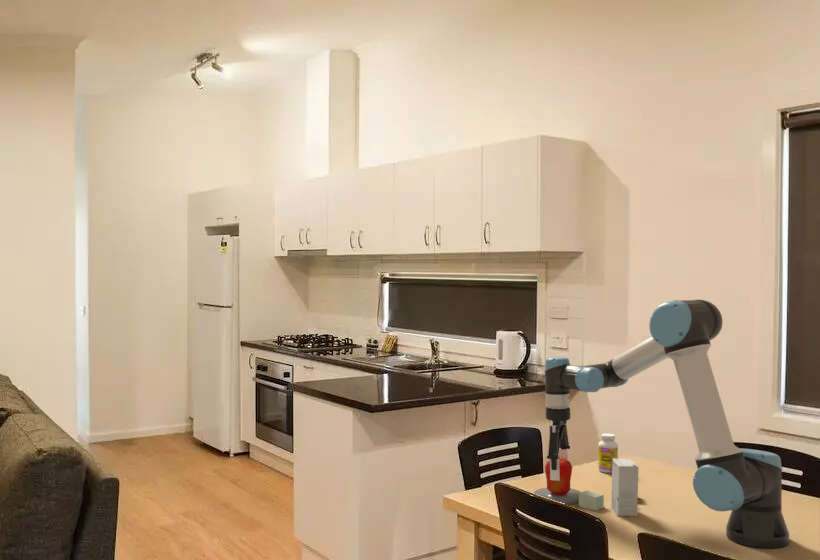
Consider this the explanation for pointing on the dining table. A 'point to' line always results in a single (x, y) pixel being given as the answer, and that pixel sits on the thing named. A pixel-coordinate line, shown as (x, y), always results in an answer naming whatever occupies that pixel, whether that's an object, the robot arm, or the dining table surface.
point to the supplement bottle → (607, 452)
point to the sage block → (591, 500)
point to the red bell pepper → (565, 476)
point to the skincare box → (624, 487)
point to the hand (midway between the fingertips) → (559, 474)
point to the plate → (560, 496)
